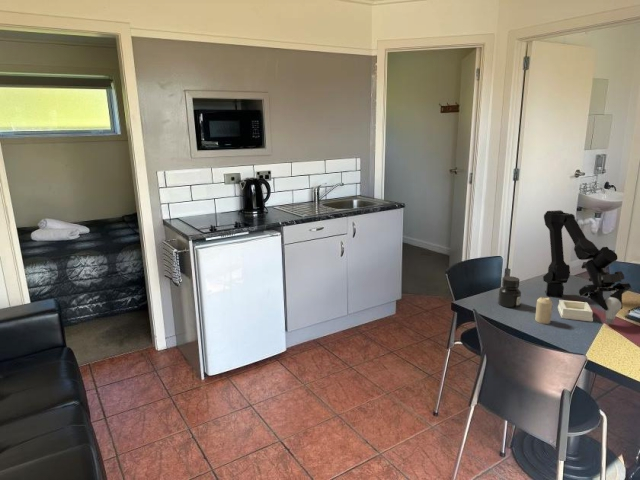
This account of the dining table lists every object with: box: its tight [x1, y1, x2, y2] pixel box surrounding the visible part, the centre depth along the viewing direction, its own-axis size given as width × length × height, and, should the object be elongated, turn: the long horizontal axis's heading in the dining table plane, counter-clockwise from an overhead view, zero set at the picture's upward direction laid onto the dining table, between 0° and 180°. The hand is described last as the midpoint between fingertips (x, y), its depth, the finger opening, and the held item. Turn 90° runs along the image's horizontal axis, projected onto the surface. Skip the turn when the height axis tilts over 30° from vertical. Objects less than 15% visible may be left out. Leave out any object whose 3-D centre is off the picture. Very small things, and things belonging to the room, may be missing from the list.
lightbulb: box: [604, 296, 623, 325], centre depth 173 cm, size 6×6×11 cm
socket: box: [557, 299, 594, 322], centre depth 183 cm, size 11×11×4 cm
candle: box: [534, 296, 553, 325], centre depth 177 cm, size 6×6×10 cm
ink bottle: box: [497, 275, 522, 309], centre depth 195 cm, size 10×9×12 cm
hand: (614, 309), depth 171 cm, fingers closed on lightbulb, 6 cm apart
